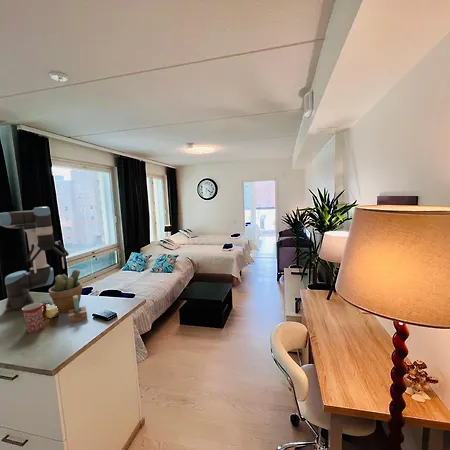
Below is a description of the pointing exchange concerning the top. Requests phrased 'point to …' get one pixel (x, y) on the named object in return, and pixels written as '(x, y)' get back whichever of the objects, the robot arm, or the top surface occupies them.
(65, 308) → the potted plant
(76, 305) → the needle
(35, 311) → the mug
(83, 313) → the wooden holder
